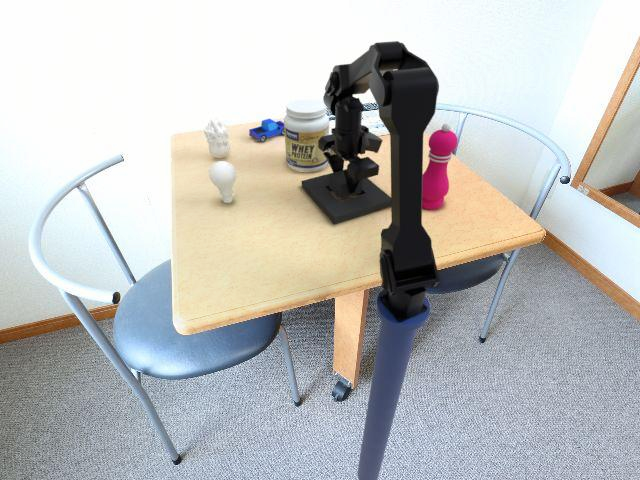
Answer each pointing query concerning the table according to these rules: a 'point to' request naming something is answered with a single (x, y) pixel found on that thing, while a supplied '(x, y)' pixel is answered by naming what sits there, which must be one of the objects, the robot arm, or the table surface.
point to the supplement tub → (305, 134)
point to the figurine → (217, 138)
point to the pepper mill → (438, 168)
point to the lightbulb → (223, 179)
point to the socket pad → (347, 208)
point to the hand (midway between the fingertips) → (345, 186)
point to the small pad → (342, 185)
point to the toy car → (267, 130)
